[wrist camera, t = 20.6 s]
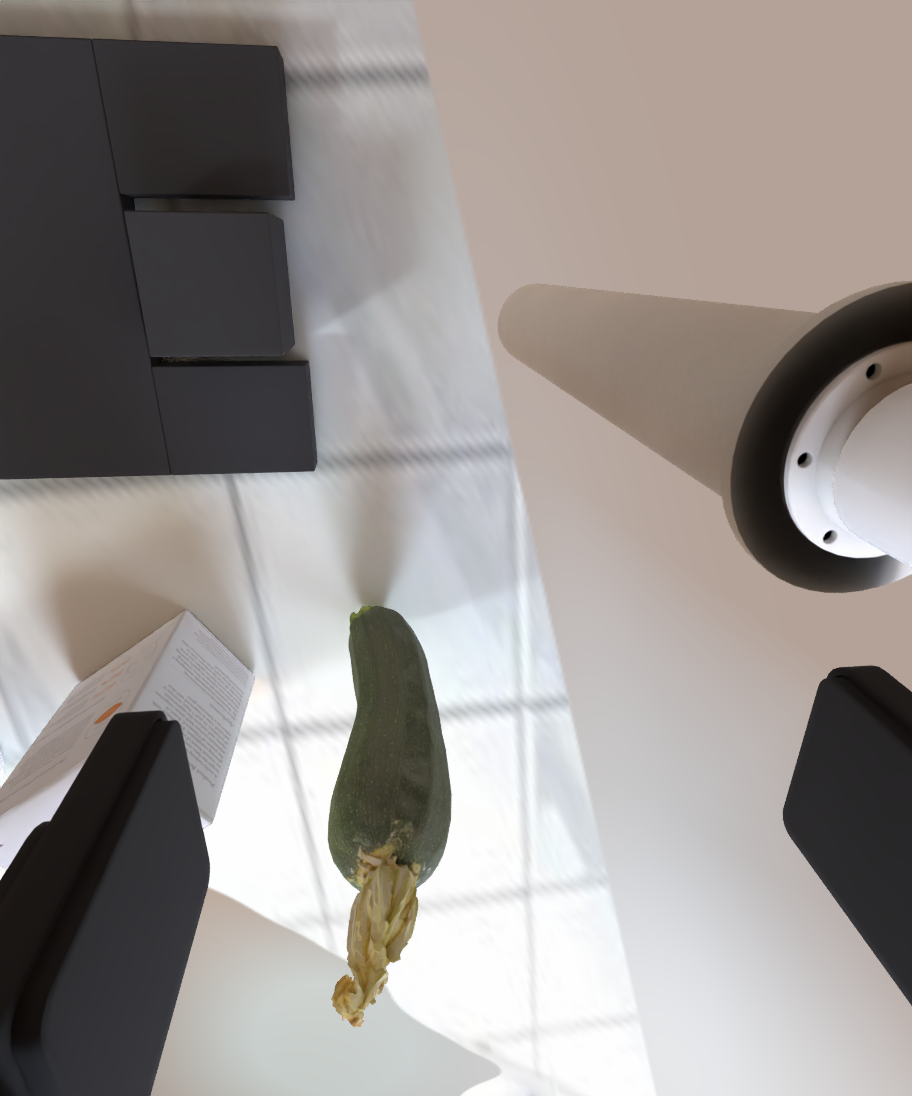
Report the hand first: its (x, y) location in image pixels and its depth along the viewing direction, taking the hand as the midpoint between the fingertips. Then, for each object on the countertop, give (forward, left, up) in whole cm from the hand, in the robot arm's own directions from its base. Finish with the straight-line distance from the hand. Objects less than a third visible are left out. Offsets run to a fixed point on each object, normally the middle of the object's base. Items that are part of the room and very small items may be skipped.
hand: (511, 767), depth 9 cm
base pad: (+14, -6, -23) cm, 28 cm away
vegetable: (+2, +11, -24) cm, 26 cm away
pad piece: (+8, -6, -23) cm, 25 cm away
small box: (+14, +14, -24) cm, 31 cm away
